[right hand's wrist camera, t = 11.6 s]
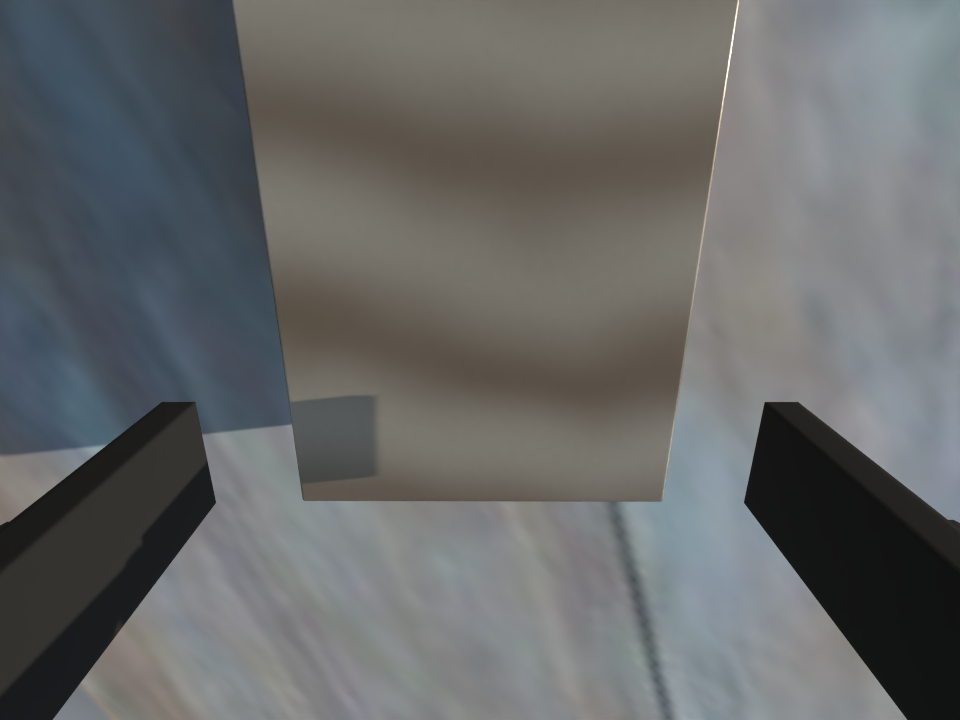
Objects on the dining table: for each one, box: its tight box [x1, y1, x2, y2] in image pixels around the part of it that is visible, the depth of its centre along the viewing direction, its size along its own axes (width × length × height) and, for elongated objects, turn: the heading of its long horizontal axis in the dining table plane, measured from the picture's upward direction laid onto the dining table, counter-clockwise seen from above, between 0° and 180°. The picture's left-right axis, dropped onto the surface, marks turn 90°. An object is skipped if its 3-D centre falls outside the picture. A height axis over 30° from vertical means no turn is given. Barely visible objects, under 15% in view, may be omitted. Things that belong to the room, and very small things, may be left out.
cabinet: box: [232, 0, 739, 501], centre depth 17 cm, size 21×11×8 cm, turn 0°
